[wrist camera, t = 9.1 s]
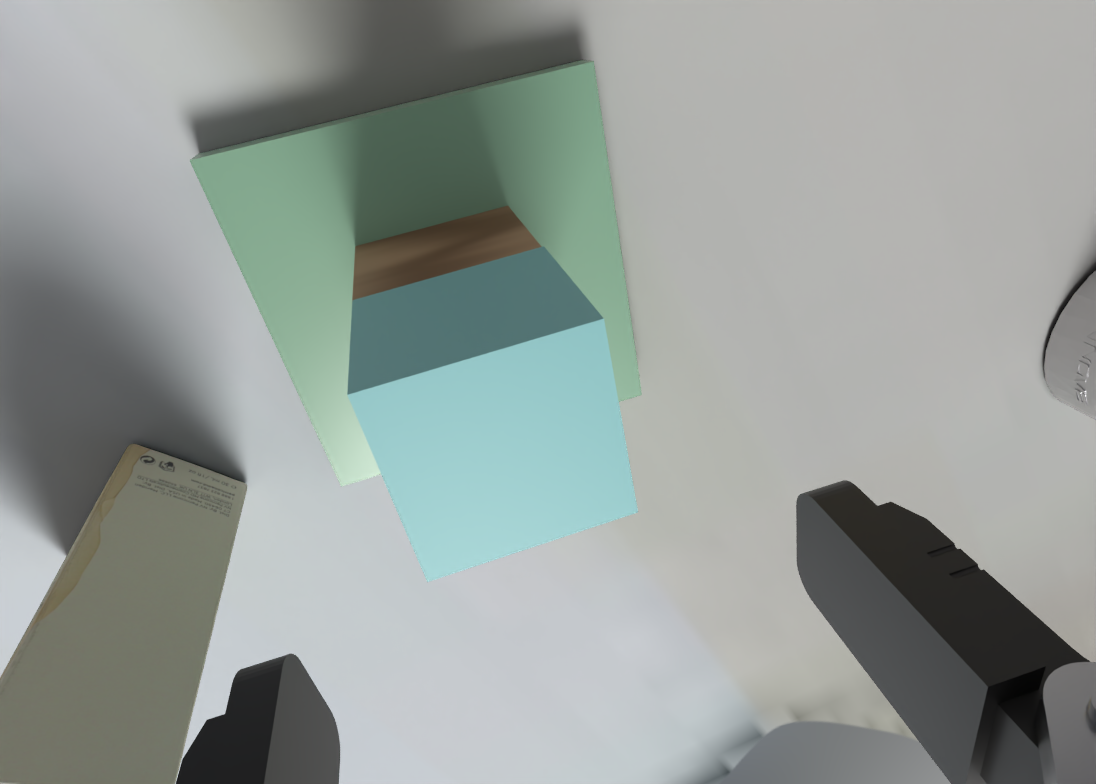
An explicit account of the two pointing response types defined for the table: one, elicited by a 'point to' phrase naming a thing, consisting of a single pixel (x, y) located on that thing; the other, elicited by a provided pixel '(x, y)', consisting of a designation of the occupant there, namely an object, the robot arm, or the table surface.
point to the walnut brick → (438, 250)
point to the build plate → (415, 217)
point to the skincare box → (122, 631)
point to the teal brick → (490, 410)
